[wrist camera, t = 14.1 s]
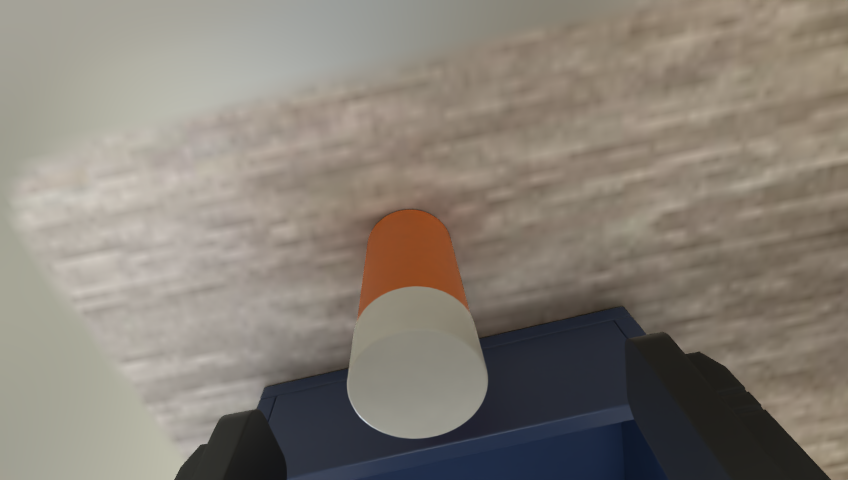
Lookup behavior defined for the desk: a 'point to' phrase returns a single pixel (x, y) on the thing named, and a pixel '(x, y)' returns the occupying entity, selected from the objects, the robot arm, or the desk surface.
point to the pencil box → (487, 416)
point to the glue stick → (414, 333)
